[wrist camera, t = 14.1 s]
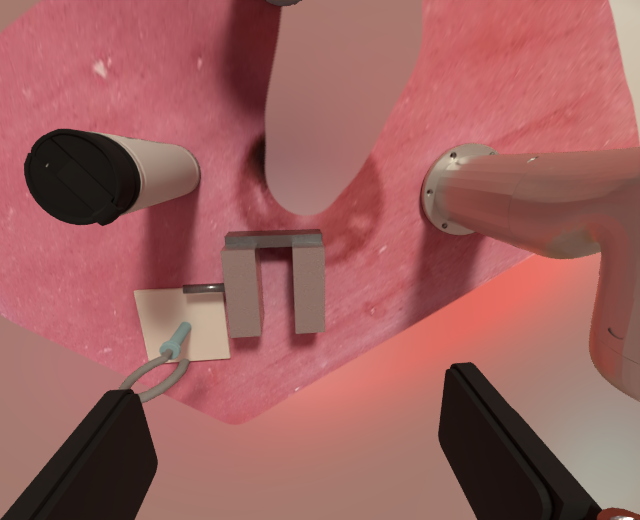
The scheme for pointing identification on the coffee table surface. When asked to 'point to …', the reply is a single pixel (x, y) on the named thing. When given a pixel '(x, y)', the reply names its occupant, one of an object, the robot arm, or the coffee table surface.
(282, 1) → the grey-green cup
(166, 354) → the hook
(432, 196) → the robot arm
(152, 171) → the travel mug
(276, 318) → the coffee table surface
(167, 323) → the mat
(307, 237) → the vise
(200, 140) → the coffee table surface
